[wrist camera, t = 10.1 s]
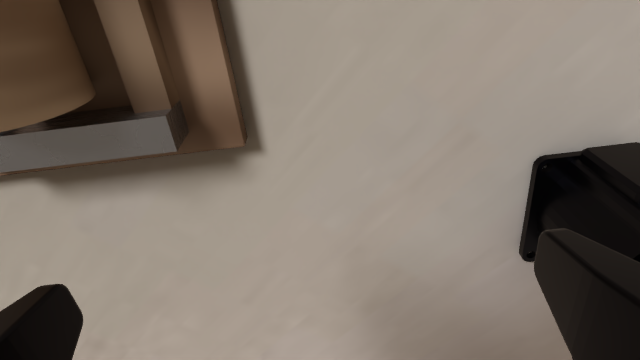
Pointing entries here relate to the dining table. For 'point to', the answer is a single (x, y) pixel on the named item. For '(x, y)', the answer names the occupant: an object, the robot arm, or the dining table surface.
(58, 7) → the tan wooden cylinder
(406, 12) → the dining table surface
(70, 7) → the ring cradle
